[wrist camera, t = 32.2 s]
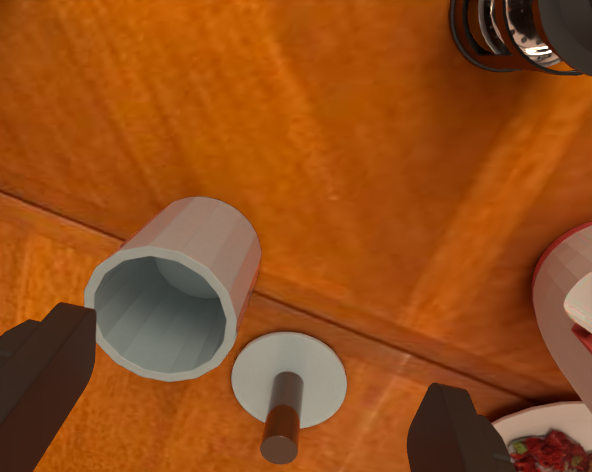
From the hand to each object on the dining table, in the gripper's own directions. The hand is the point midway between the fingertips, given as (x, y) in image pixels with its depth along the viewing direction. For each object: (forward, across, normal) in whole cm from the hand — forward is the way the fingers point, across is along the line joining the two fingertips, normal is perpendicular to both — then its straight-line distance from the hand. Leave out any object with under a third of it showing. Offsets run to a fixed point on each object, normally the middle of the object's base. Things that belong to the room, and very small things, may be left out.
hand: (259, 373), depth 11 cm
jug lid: (+30, -5, +28) cm, 41 cm away
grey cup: (+32, +7, +16) cm, 36 cm away
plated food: (+28, -39, +35) cm, 60 cm away
